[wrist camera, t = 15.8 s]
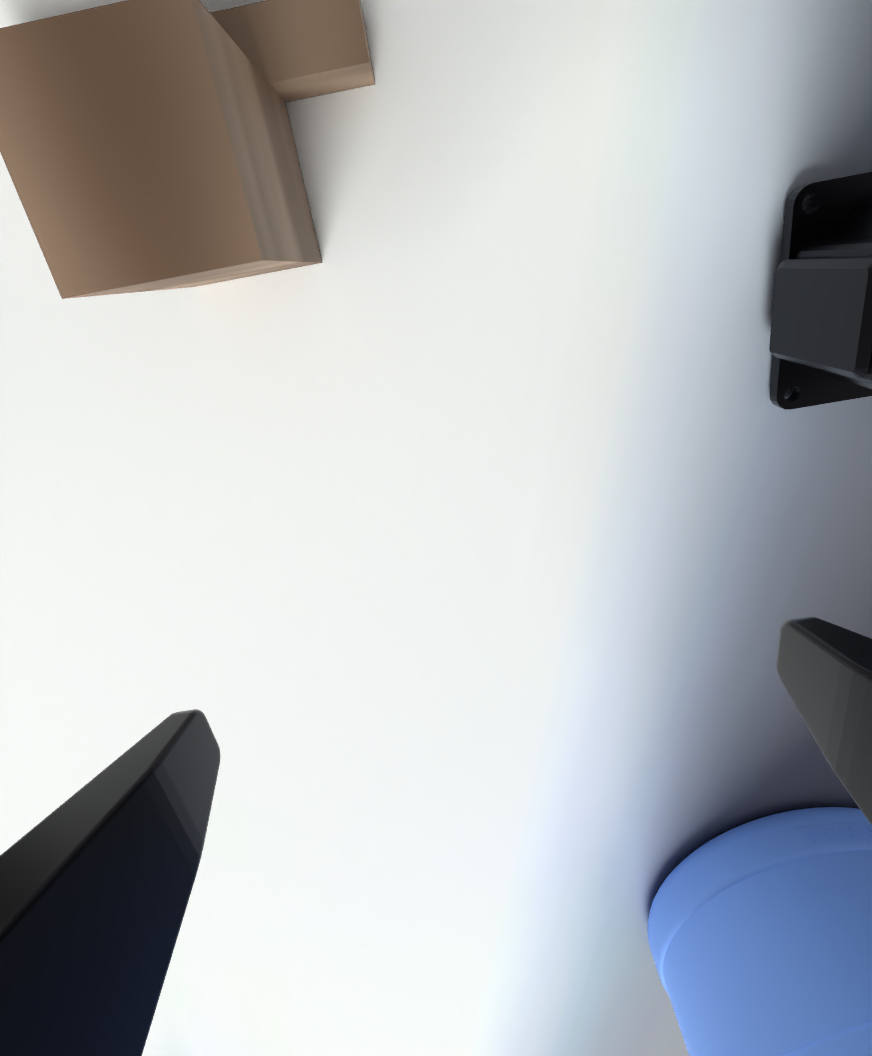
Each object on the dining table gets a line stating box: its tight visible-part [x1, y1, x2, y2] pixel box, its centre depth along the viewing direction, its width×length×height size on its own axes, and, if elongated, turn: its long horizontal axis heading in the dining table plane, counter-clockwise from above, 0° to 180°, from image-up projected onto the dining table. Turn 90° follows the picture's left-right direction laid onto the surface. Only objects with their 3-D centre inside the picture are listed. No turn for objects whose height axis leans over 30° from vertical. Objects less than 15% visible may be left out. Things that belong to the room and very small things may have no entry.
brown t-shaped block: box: [0, 0, 375, 299], centre depth 13 cm, size 9×6×7 cm, turn 100°
